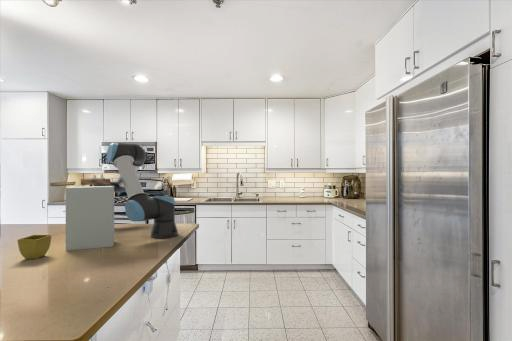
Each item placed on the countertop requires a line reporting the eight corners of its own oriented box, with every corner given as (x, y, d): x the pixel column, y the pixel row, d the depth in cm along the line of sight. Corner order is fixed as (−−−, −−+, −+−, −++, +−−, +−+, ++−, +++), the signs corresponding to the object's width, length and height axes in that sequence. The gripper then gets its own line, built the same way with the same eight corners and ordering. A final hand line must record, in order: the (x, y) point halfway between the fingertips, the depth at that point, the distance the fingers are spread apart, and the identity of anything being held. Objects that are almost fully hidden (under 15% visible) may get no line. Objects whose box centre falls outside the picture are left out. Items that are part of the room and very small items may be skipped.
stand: (114, 241, 152) (114, 185, 152) (112, 246, 143) (112, 186, 143) (70, 245, 144) (70, 186, 144) (65, 250, 135) (65, 187, 135)
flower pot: (36, 260, 120) (36, 239, 120) (16, 260, 121) (16, 239, 121) (52, 254, 129) (52, 234, 129) (33, 254, 129) (33, 234, 129)
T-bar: (113, 182, 179) (113, 178, 179) (109, 184, 159) (109, 179, 159) (87, 183, 173) (87, 178, 173) (80, 184, 154) (80, 179, 154)
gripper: (116, 198, 185) (113, 182, 166) (87, 199, 179) (81, 182, 160) (116, 188, 189) (113, 171, 170) (88, 189, 183) (82, 171, 164)
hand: (97, 176), depth 165 cm, fingers closed on T-bar, 3 cm apart
